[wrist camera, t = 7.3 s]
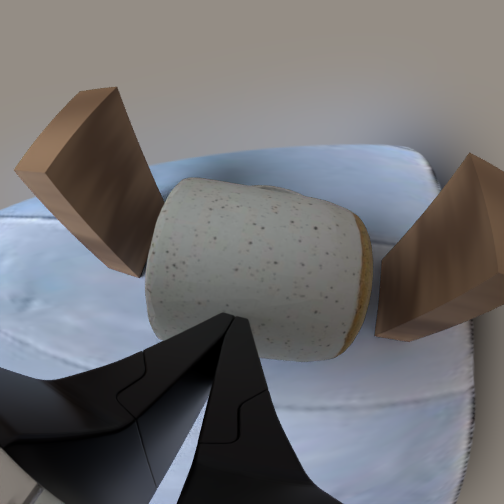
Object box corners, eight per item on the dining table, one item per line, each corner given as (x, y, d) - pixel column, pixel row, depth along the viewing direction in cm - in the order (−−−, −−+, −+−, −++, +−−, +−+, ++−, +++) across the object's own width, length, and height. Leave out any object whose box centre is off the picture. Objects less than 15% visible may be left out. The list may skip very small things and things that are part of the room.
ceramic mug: (326, 368, 14) (391, 353, 7) (178, 350, 14) (115, 319, 7) (331, 207, 18) (362, 119, 12) (213, 194, 19) (197, 102, 12)
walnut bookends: (408, 341, 14) (536, 286, 5) (108, 267, 16) (13, 170, 7) (413, 267, 16) (508, 174, 7) (138, 205, 18) (79, 91, 9)
